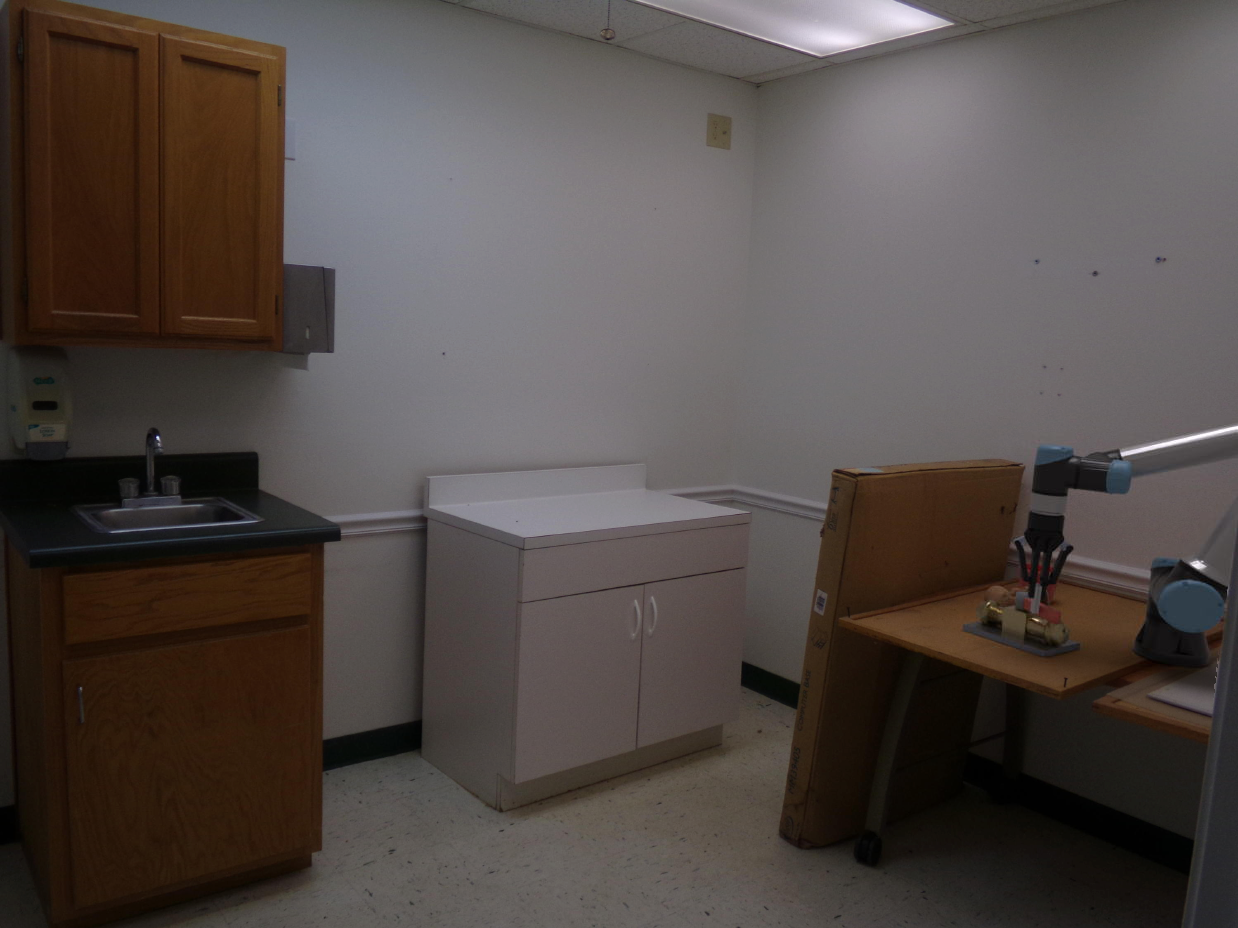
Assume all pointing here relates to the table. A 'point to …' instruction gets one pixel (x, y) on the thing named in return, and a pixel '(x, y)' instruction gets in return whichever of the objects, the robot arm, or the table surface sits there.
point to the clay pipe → (1008, 596)
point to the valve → (1021, 630)
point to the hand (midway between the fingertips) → (1034, 611)
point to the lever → (1044, 611)
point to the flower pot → (1049, 588)
